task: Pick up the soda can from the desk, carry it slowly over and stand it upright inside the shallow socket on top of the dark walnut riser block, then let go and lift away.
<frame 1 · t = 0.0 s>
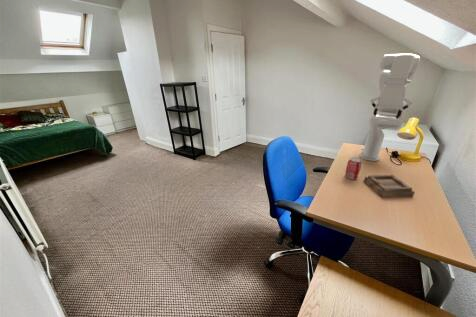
hand: (385, 116, 105), 37 cm above the table, tool pointing down, fingers open, 9 cm apart
walnut riser: (386, 188, 111), on the table
soda can: (350, 177, 122), on the table
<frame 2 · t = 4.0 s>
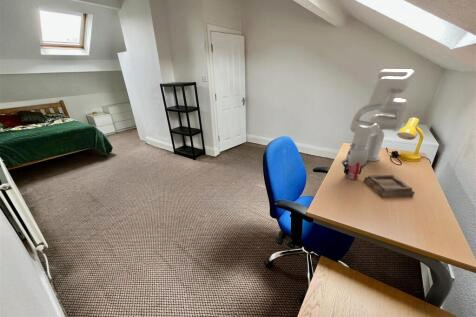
hand: (352, 173, 121), 3 cm above the table, tool pointing down, fingers closed on soda can, 7 cm apart
soda can: (350, 177, 122), on the table, touching gripper
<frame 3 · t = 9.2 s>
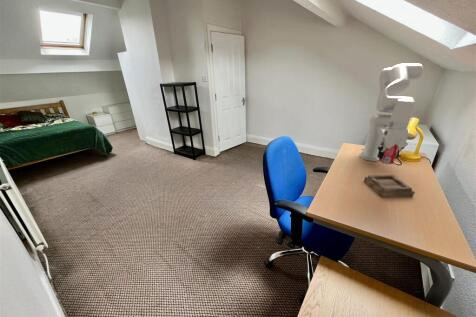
hand: (387, 157, 106), 18 cm above the table, tool pointing down, fingers closed on soda can, 7 cm apart
soda can: (385, 162, 107), point 15 cm above the table, touching gripper
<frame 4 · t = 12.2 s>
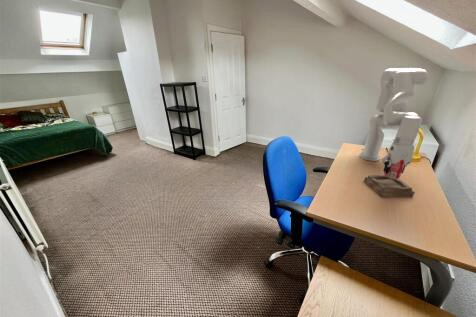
hand: (392, 172, 106), 11 cm above the table, tool pointing down, fingers closed on soda can, 7 cm apart
soda can: (391, 176, 107), point 8 cm above the table, touching gripper
when the fingers open (7 cm above the table, at t = 14.9 s): soda can stays where it is, resting on walnut riser.
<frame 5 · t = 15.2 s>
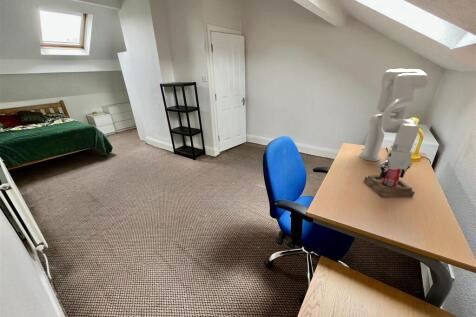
hand: (390, 176, 107), 7 cm above the table, tool pointing down, fingers open, 9 cm apart
soda can: (388, 184, 110), point 3 cm above the table, touching walnut riser
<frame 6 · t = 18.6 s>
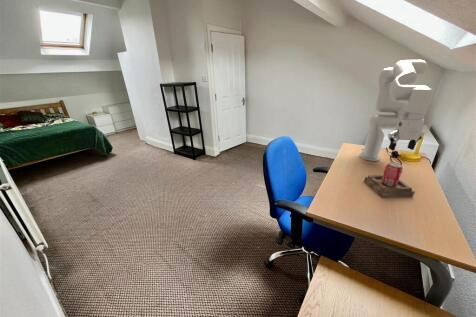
hand: (400, 149, 101), 24 cm above the table, tool pointing down, fingers open, 9 cm apart
nothing on the table moved.
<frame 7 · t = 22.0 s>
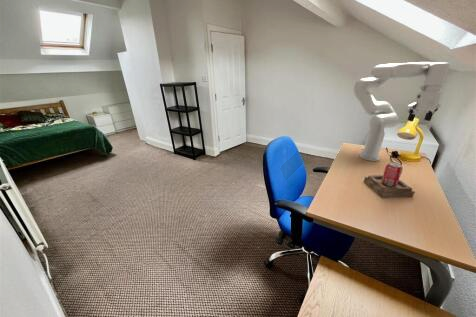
hand: (418, 120, 112), 33 cm above the table, tool pointing down, fingers open, 9 cm apart
nothing on the table moved.
at the end: soda can 0.3 cm off-centre on the walnut riser, point 2.8 cm above the walnut riser's base; soda can tilted 0°; soda can touching walnut riser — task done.
